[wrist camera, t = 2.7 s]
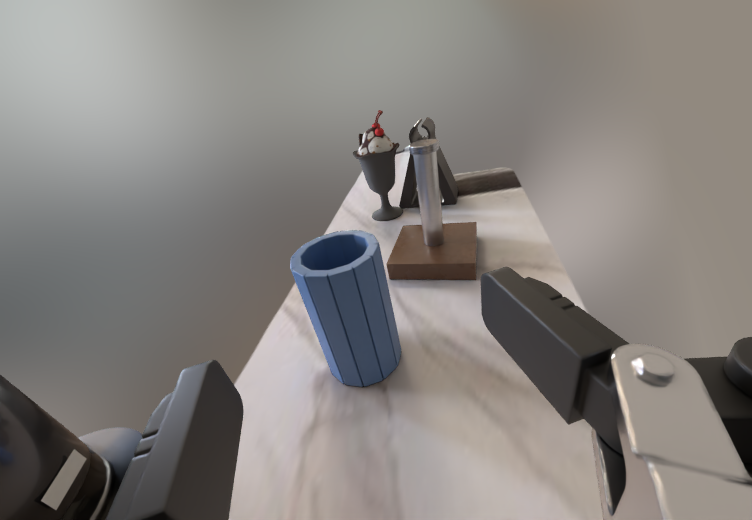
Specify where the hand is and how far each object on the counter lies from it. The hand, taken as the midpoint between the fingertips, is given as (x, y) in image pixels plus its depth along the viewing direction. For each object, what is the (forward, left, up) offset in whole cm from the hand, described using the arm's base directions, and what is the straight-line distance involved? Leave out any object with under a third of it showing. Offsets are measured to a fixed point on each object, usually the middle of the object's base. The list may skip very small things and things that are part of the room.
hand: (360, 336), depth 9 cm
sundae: (-11, +38, -13) cm, 41 cm away
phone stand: (-5, +43, -13) cm, 45 cm away
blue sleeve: (-6, +10, -13) cm, 17 cm away
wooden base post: (-2, +25, -13) cm, 28 cm away
